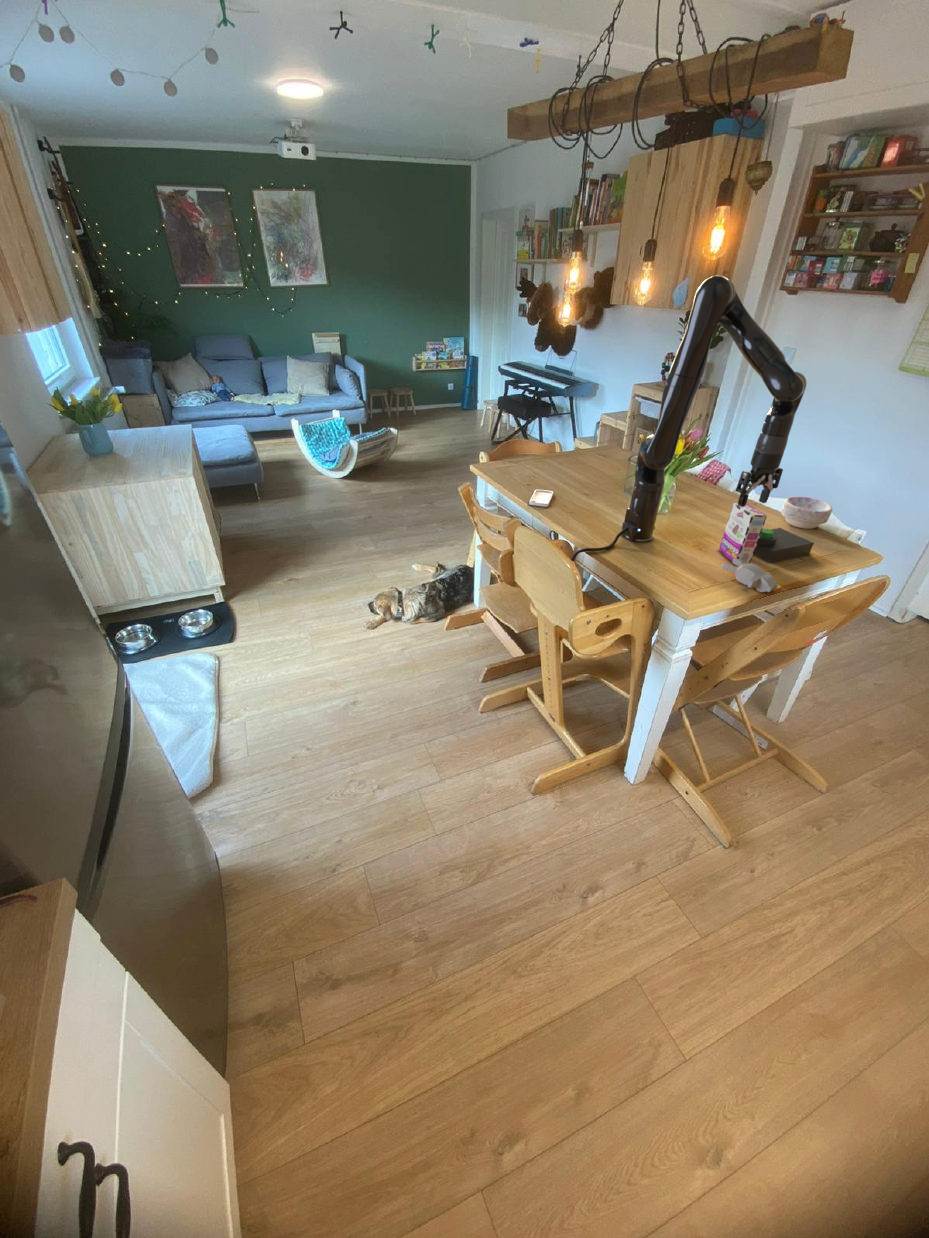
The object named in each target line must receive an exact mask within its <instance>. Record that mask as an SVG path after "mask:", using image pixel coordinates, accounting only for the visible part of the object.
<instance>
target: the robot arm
mask: <svg viewBox="0 0 929 1238" xmlns="http://www.w3.org/2000/svg"><path fill="white" fill-rule="evenodd" d="M718 325H720V326H721V327H722V328H723V329H724V330H725V332H727V333H728V335H729V336H730V338H731V339H732V340H733V342H734V344H735V345H736V347H737V349H738V350H739V352H740V353H741V355H742V357H744V359H745V360H746V361H747V363H748V364H749V365H750V367H751V368H752V369H753V370H754V371H755V372H756V374H757V375H759V377H760V378H761V380H762V382H763V383H764V385H765V387H766V388H767V390H768V392H769V393H770V394H771V396H772V397H773V399H772V403H771V406H770V410H769V411H768V412H767V414H766V415H765V418H764V420H763V421H764V422H763V424H762V428H761V431H760V434H759V436H758V437H757V440H756V443H755V447H754V449H753V454H752V457H751V460H750V465H751V469H750V471H745V470H742V471H741V473H740V476H739V480H738V483H737V485H736V488H735V492H738V493H739V497H738V501H737V503H738V505H739V506H741V507H745V506H746V503H748V499H749V494H750V493H751V492H752V491H753V490H756V488H757V487H759V486H762V488H763V489H761V492H760V495H759V499H758V501H759V503H762V504H766V503H767V502H768V500H769V498H770V494H771V492H772V491H773V490H774V489H778V487H779V484H780V481H781V479H782V478H781V477H782V474H783V472H784V469H783V468H782V467H780V466H781V463H782V460H783V457H784V454H785V452H786V451H785V450H786V448H787V445H788V440H789V435H790V433H791V430H792V427H793V425H794V421H795V416H796V413H797V411H798V409H799V406H800V404H801V401H802V399H803V397H804V395H805V392H806V388H807V379H806V376H805V375H804V374H803V373H801V372H799V371H794V369H793V368H792V367H791V365H790V364H789V363H788V362H787V360H786V356H785V354H784V353H783V351H782V350H781V349H780V348H779V346H778V345H777V344H776V343H775V342H774V340H773V339H772V338H771V337H770V336H769V335H768V333H767V332H765V330H764V329H763V328H762V327H761V326H760V324H758V323H757V322H756V321H755V320H754V318H753V317H752V315H750V313H749V311H748V310H747V309H746V307H745V306H744V304H743V302H742V300H741V298H740V297H739V294H738V293H737V290H736V288H735V285H734V283H733V282H732V281H731V280H730V279H728V278H727V277H725V276H723V275H713V276H711V277H708V278H707V279H705V280H704V281H703V282H702V283H701V284H700V286H698V288H697V290H696V292H695V295H694V299H693V301H692V308H691V310H690V315H689V318H688V322H687V326H686V329H685V333H684V335H683V337H682V340H681V342H680V345H679V346H678V347H679V348H678V349H677V352H676V354H675V357H674V359H673V362H672V365H671V367H670V370H669V372H668V376H667V378H666V381H665V384H664V387H663V391H662V396H661V401H660V402H661V403H660V409H659V411H660V412H659V417H658V420H657V421H658V422H657V425H656V427H655V430H654V432H653V434H651V435H649V436H647V437H646V438H645V439H643V441H642V442H641V444H640V446H639V449H638V453H637V459H636V463H635V464H636V465H635V470H634V484H633V488H632V493H631V497H630V503H629V507H628V508H626V510H625V516H624V520H623V521H622V526H621V530H620V531H619V532H618V534H616V536H615V538H614V540H613V541H612V542H611V543H610V544H609V545H606V546H603V547H586V548H585V547H584V548H581V549H577V550H576V551H575V552H574V553H573V555H572V557H571V558H570V560H571V559H572V560H573V561H574V560H575V559H576V557H577V556H578V555H579V554H581V553H585V552H601V551H605V550H606V551H607V550H610V549H611V548H613V547H614V546H615V545H616V543H617V542H618V540H619V538H620V537H621V536H623V537H625V538H626V539H628V540H629V541H631V542H639V543H645V542H649V541H652V540H653V536H654V530H656V522H657V517H658V513H659V508H660V504H661V500H662V496H663V493H664V487H665V484H666V479H665V470H666V468H667V467H668V466H669V465H670V464H671V463H672V461H673V460H674V457H675V455H676V452H677V451H676V450H677V447H678V443H679V440H680V436H681V433H682V429H683V427H684V424H685V421H686V419H687V417H688V414H689V412H690V410H691V407H692V405H693V402H694V399H695V397H696V395H697V393H698V390H699V388H700V385H701V382H702V381H703V380H702V379H703V377H704V374H705V371H706V368H707V363H708V358H709V352H710V349H711V348H710V347H711V343H712V340H713V336H714V334H715V332H716V329H717V327H718ZM572 560H571V561H572Z"/></svg>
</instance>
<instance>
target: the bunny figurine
mask: <svg viewBox="0 0 929 1238" xmlns="http://www.w3.org/2000/svg"><path fill="white" fill-rule="evenodd" d="M732 564H733V565H732ZM732 564H730V563H726V562H723V563H722V564H721V566H720V568H721V569H722V570H724V571H728V572H732V573H734V575H735V579H736V581H738V582H739V583H740V584H742V585H744V586H747V588H749V589H752V588H755V589H756V591H757V592H760V593H765V592H767V593H770V592H773V591H775V590H776V589H777V588H778V587H779V583H778V582H777V579H776V578H775V577H774V576H773V575H772V573H771V572H769V571H764V570H762V568H761V566H759V565H757V564H755V563H752V562H750V563H749V564H742V563H741V561H740V560H738V559H733V563H732Z"/></svg>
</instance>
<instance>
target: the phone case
mask: <svg viewBox="0 0 929 1238" xmlns="http://www.w3.org/2000/svg"><path fill="white" fill-rule="evenodd" d="M553 496H554V491H553V490H545V489H538V488H537V489H535V490H534V491H533V493H532V495H531V497H530V499H529V503H528V504H529V505H530V506H537V507H545V508H547V507H549V505H550V503H551V501H552V498H553Z"/></svg>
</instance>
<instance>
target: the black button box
mask: <svg viewBox="0 0 929 1238" xmlns="http://www.w3.org/2000/svg"><path fill="white" fill-rule="evenodd" d="M770 530H772V531H774V534H773V536H772V539H766V538H762V537H759V539H758V542H757V545H756V548H755V551H754V554H753V556H755V557H757V558H760V559H761V560H763V561H765V562H767V563H773V562H778V561H784V560H787V559H793V558H797V557H802V556H807V555H810V553H811V551H812V548H813V546H814V544H815V543H814V542H813V541H810V540H809V539H806V538H804V537H802V536H800V535H797V534H795V533H793V532H790V531H789V530H787V529H784V528H781V527H777V528H776V527H775V528H772V529H770Z"/></svg>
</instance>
